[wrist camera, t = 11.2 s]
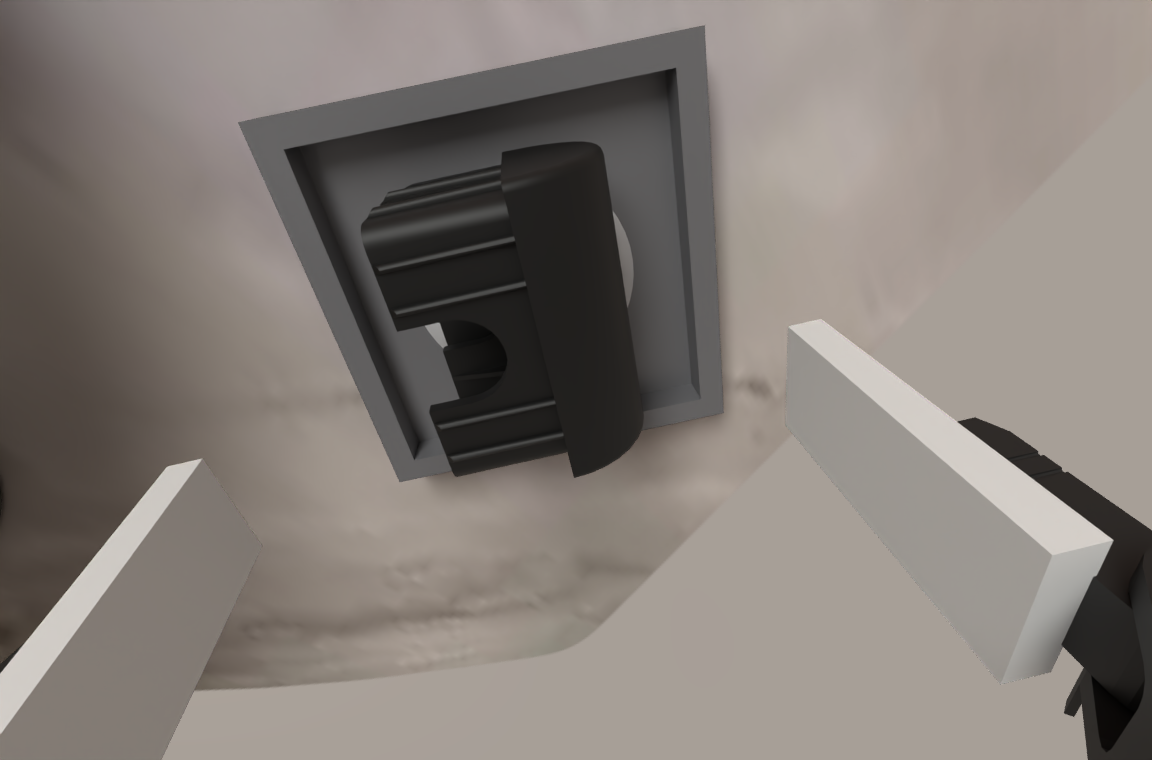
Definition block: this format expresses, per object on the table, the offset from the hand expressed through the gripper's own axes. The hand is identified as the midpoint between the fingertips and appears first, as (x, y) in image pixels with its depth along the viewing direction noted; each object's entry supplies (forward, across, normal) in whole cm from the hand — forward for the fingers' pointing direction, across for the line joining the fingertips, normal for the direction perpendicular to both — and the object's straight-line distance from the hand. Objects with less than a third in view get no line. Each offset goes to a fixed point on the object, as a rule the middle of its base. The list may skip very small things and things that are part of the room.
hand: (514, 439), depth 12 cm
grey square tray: (+12, +1, 0) cm, 12 cm away
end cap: (+11, +1, 0) cm, 11 cm away
